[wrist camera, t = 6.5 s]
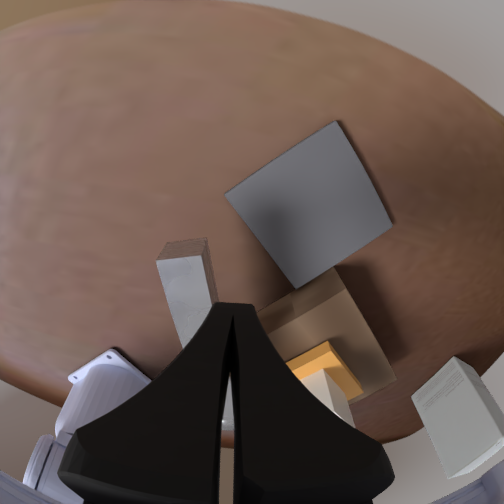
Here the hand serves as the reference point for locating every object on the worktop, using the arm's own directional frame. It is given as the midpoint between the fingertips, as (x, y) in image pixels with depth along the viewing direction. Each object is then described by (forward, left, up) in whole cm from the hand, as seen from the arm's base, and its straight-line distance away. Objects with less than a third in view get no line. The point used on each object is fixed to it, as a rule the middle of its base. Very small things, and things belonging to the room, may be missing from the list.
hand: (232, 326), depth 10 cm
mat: (+5, -1, -9) cm, 11 cm away
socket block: (-2, -12, -9) cm, 15 cm away
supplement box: (+9, -30, -10) cm, 33 cm away
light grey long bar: (-4, -3, -6) cm, 8 cm away
